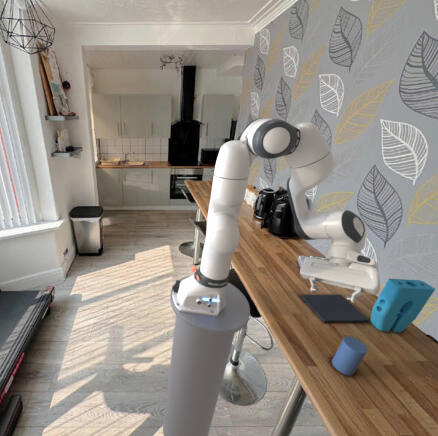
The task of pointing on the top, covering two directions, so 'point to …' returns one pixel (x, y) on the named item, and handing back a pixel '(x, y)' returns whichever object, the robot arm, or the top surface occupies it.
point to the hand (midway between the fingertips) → (330, 296)
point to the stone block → (301, 260)
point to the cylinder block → (349, 355)
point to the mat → (333, 308)
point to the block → (400, 304)
